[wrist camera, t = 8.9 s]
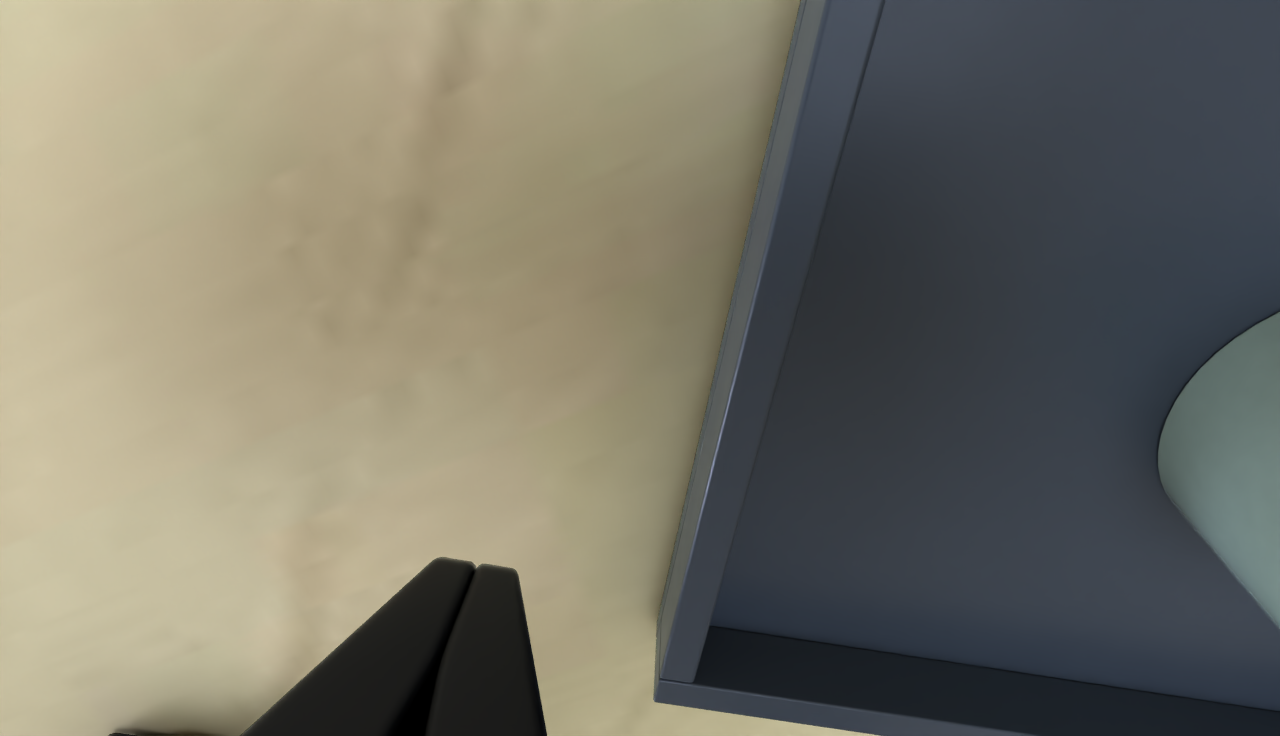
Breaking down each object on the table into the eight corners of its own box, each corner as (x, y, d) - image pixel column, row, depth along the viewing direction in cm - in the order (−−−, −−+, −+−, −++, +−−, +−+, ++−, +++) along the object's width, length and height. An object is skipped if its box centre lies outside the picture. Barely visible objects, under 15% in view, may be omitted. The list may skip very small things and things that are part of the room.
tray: (1319, 721, 20) (1393, 812, 18) (656, 621, 20) (653, 703, 18) (2017, -26, 11) (2318, -17, 9) (854, -236, 11) (894, -277, 9)
